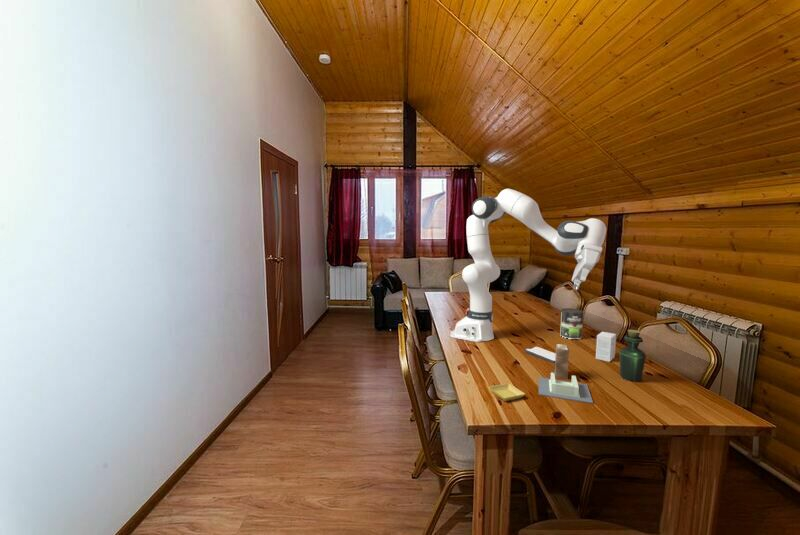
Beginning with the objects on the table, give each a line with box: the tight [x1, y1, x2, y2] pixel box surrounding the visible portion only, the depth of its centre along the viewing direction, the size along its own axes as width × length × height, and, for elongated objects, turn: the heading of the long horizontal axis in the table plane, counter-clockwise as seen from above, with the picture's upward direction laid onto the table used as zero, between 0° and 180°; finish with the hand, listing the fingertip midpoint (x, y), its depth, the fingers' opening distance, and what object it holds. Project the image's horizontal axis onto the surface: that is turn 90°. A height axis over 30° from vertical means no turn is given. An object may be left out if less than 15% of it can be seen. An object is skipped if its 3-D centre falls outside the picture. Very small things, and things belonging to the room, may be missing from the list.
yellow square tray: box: [488, 382, 526, 402], centre depth 112 cm, size 9×9×2 cm
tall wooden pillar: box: [554, 343, 570, 380], centre depth 127 cm, size 4×6×11 cm, turn 158°
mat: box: [537, 376, 594, 404], centre depth 116 cm, size 16×14×1 cm
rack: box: [549, 371, 580, 398], centre depth 116 cm, size 9×10×3 cm
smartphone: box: [524, 346, 556, 364], centre depth 148 cm, size 9×2×16 cm
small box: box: [595, 331, 617, 362], centre depth 145 cm, size 8×6×10 cm
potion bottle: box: [618, 329, 647, 382], centre depth 125 cm, size 8×8×18 cm
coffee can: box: [559, 307, 584, 340], centre depth 175 cm, size 10×10×14 cm
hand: (578, 285), depth 133 cm, fingers open, 8 cm apart
